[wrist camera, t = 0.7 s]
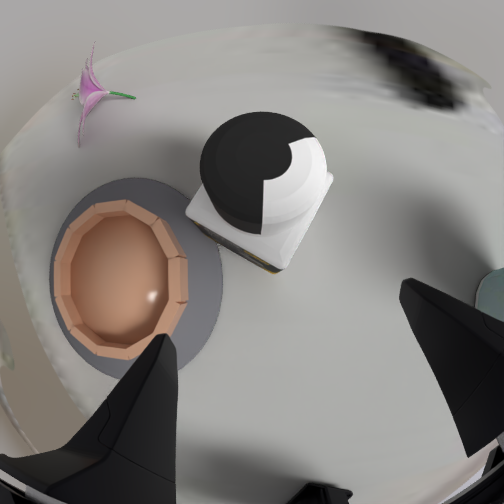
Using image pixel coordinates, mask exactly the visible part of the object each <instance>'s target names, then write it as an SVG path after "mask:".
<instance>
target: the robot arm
mask: <svg viewBox="0 0 504 504" xmlns="http://www.w3.org/2000/svg"><path fill="white" fill-rule="evenodd" d="M399 300H400V303H401V305H402V308H403V310H404V312H405V315H406V317H407V319H408V322H409V324H410V327H411V329H412V331H413V333H414V335H415V337H416V339H417V341H418V343H419V345H420V347H421V349H422V351H423V353H424V355H425V357H426V359H427V361H428V363H429V365H430V367H431V369H432V371H433V373H434V375H435V377H436V379H437V381H438V384H439V386H440V388H441V390H442V392H443V395H444V397H445V399H446V402H447V404H448V406H449V409H450V411H451V414H452V416H453V419H454V421H455V424H456V427H457V429H458V432H459V435H460V437H461V440H462V443H463V446H464V449H465V452H466V455H467V457H468V458H469V457H470V456H472V455H473V454H475V453H476V452H478V451H479V450H481V449H482V448H483V447H485V446H486V445H487V444H489V443H490V442H491V441H493V440H494V439H495V438H496V439H497V441H498V443H499V445H498V446H497V447H495V448H494V449H493V450H492V451H490V453H489V456H488V460H487V463H486V466H485V468H484V471H483V474H482V477H481V478H480V479H479V480H477V481H476V482H475V483H473V484H472V485H470V486H469V487H468V488H466V489H464V490H463V491H462V492H460V493H458V494H457V495H455V496H454V497H452V498H450V499H449V500H447V501H445V502H444V503H442V504H504V322H503V321H500V320H498V319H496V318H494V317H492V316H490V315H488V314H486V313H484V312H481V311H480V310H478V309H476V308H474V307H472V306H470V305H468V304H466V303H464V302H462V301H460V300H458V299H456V298H454V297H452V296H450V295H448V294H446V293H444V292H442V291H439V290H437V289H435V288H433V287H431V286H429V285H427V284H425V283H422V282H420V281H418V280H416V279H414V278H408V279H405V280H403V281H402V283H401V289H400V295H399ZM177 401H178V371H177V351H176V347H175V345H174V344H173V342H172V340H171V339H170V337H169V335H168V334H167V333H162V334H157V335H156V336H155V337H154V338H153V339H152V340H151V342H150V343H149V344H148V345H147V347H146V348H145V349H144V350H143V352H142V353H141V354H140V356H139V357H138V358H137V359H136V361H135V362H134V363H133V364H132V366H131V367H130V368H129V369H128V371H127V372H126V373H125V375H124V376H123V377H122V378H121V380H120V381H119V382H118V384H117V385H116V386H115V387H114V389H113V390H112V391H111V393H110V394H109V395H108V396H107V399H105V400H104V402H103V403H102V404H101V406H100V407H99V408H98V409H97V410H96V412H95V413H94V414H93V415H92V417H91V418H90V419H89V420H88V421H87V422H86V423H85V424H84V426H83V427H82V428H81V429H80V430H79V431H78V432H77V433H76V434H75V435H74V436H73V437H72V439H71V440H70V441H69V442H68V443H67V444H65V445H64V446H63V447H61V448H59V449H56V450H53V451H49V452H45V453H40V454H35V455H31V456H26V457H20V458H11V457H8V456H7V455H5V454H0V469H1V470H3V471H4V472H6V473H8V474H9V475H11V476H12V477H14V478H15V479H17V480H19V481H20V482H22V483H24V484H26V491H25V492H24V491H22V490H20V489H19V488H17V487H15V486H13V485H11V484H9V483H7V482H6V481H4V480H2V479H1V478H0V504H176V484H175V459H176V421H177ZM352 495H353V493H352V491H347V490H342V489H337V488H332V487H326V486H322V485H317V484H313V483H308V484H306V485H305V486H304V487H303V488H302V489H301V490H300V491H299V492H298V493H297V494H296V495H295V496H294V497H293V498H292V499H291V500H290V501H289V502H288V503H287V504H349V502H348V499H349V498H351V497H352Z"/></svg>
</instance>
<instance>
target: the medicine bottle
mask: <svg viewBox="0 0 504 504" xmlns="http://www.w3.org/2000/svg"><path fill="white" fill-rule="evenodd" d="M200 174H201V180H202V185H201V186H200V188H199V190H198V191H197V193H196V194H195V196H194V197H193V199H192V201H191V202H190V204H189V205H188V207H187V208H186V211H185V213H186V216H187V217H188V218H189V219H190V220H191V221H192V222H193V223H194V224H195V225H196V226H197V227H198V228H199V229H200V230H201V231H202V233H203V234H204V235H205V236H207V237H209V238H210V239H212V240H214V241H216V242H217V243H219V244H221V245H223V246H224V247H226V248H228V249H230V250H231V251H233V252H235V253H236V254H238V255H240V256H242V257H243V258H245V259H247V260H249V261H250V262H252V263H254V264H256V265H257V266H259V267H261V268H263V269H264V270H266V271H268V272H270V273H272V274H276V273H278V272H280V271H282V270H283V269H285V268H286V267H287V266H288V264H289V262H290V260H291V258H292V257H293V255H294V253H295V251H296V249H297V248H298V246H299V244H300V242H301V240H302V238H303V237H304V235H305V233H306V231H307V229H308V227H309V225H310V223H311V222H312V220H313V218H314V216H315V214H316V212H317V210H318V208H319V206H320V205H321V203H322V201H323V199H324V197H325V195H326V193H327V191H328V189H329V187H330V185H331V183H332V181H333V175H332V174H331V173H330V172H328V171H327V167H326V159H325V155H324V152H323V150H322V147H321V145H320V144H319V142H318V140H317V139H316V137H315V136H314V135H313V134H312V133H311V132H310V131H309V130H308V129H307V128H306V127H305V126H304V125H302V124H301V123H299V122H298V121H296V120H294V119H292V118H290V117H287V116H285V115H281V114H278V113H272V112H252V113H246V114H243V115H239V116H237V117H234V118H232V119H230V120H228V121H227V122H225V123H224V124H222V125H221V126H220V127H219V128H217V129H216V130H215V131H214V132H213V134H212V135H211V136H210V137H209V139H208V140H207V142H206V144H205V146H204V148H203V151H202V154H201V160H200Z"/></svg>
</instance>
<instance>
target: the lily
mask: <svg viewBox="0 0 504 504" xmlns="http://www.w3.org/2000/svg"><path fill="white" fill-rule="evenodd" d="M94 43H95V42H94ZM93 49H94V45H93V48H92V52H91V57H90V62H89V67H88V66H87V65H86V69H85V68H83V69H82V75H81V81H80V87H79V89H77V90H79V94H77V95H79V96H78V97H79V100H80V102H81V104H82V105H84V110H83V112H82V114H81V118H80V123H79V130H78V146H79V133H80V125H81V122H82V119H83V130H82V132H83V134H84V121H85V118H86V116H87V115H88V113H89V112H90V111H91V110H92V108H93V107H94V106H95V105H96V104H97V103H98V102H99V100H100V99H101V98H102V97H103V96H104V95H106V94H115V95H121V96H125V97H129V98H132V99H136V97H134V96H130V95H127V94H123V93H118V92H111V91H107V90H105V89H104V88H103V87H102V86H101V85H100V84H99V82H98V81H97V79H96V78H95V76H94V73H93V71H92V54H93ZM87 60H88V59H86V64H87ZM73 94H76V93H73ZM77 95H72V97H73V96H75V98H76V97H77ZM73 99H74V98H73ZM73 99H71V100H73Z"/></svg>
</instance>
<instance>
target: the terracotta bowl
mask: <svg viewBox="0 0 504 504" xmlns="http://www.w3.org/2000/svg"><path fill="white" fill-rule="evenodd" d="M69 227H70V228H67V230H66V232H65V234H64V237H63V239H62V241H61V244H60V246H59V249H58V251H57V254H56V256H55V260H56V261H54V297H56V298H55V301H56V303H57V306H58V308H59V310H60V313H61V315H62V317H63V320H64V322H65V324H66V326H67V329H68V331H70V330H71V331H70V333H71V334H72V335H73V336H74V337H75V338H76V339H77V340H78V341H80V342H81V343H82V344H83V345H84V346H85V347H87V348H88V349H89V350H90V351H91V352H93V353H94V354H97V356H103V357H110V358H116V359H124V360H131V359H133V358H135V357H136V356H138V355H140V354H141V353H142V352H143V350H144V349H145V348H146V347H147V345H148V344H149V343H150V342H151V340H152V339H153V338H154V337H155V336H156V335H157V334H162V333H167V334H168V335H169V337H170V336H171V335H172V333H173V331H174V329H175V327H176V325H177V323H178V321H179V319H180V317H181V315H182V313H183V311H184V309H185V307H186V305H187V303H188V302H186V300H189V299H188V259H185V258H186V257H187V256H186V254H185V253H184V251H183V249H182V247H181V245H180V244H179V242H178V240H177V238H176V236H175V235H174V233H173V231H172V229H171V227H170V225H169V224H168V223H167V222H166V221H165V220H163V219H161V218H160V217H158V216H156V215H155V214H153V213H151V212H149V211H147V210H146V209H144V208H142V207H140V206H138V205H137V204H135V203H133V202H131V201H129V200H126V199H124V200H117V201H110V202H103V203H96V204H95V205H92V206H91V207H90V208H88V209H87V210H86V211H85V212H84V213H83V214H81V215H80V216H79V217H78V218H77V219H76V220H75V221H73V222H72V223H71V224H70V225H69Z"/></svg>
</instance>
